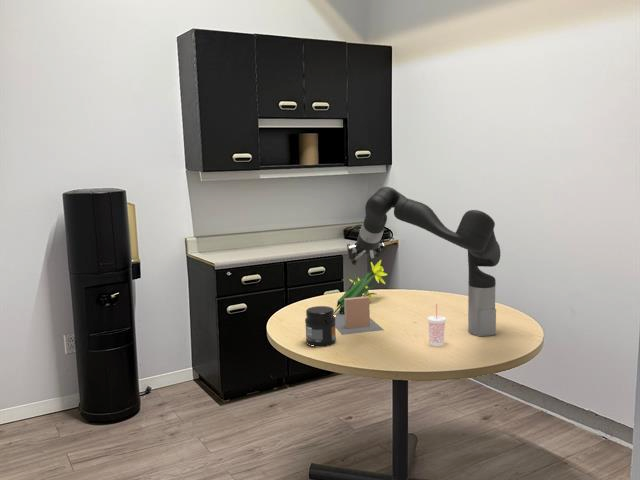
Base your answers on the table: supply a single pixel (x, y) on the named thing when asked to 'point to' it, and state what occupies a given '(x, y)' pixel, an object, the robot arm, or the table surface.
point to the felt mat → (341, 328)
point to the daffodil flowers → (362, 285)
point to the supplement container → (320, 326)
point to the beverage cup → (436, 329)
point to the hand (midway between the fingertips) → (360, 262)
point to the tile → (357, 312)
